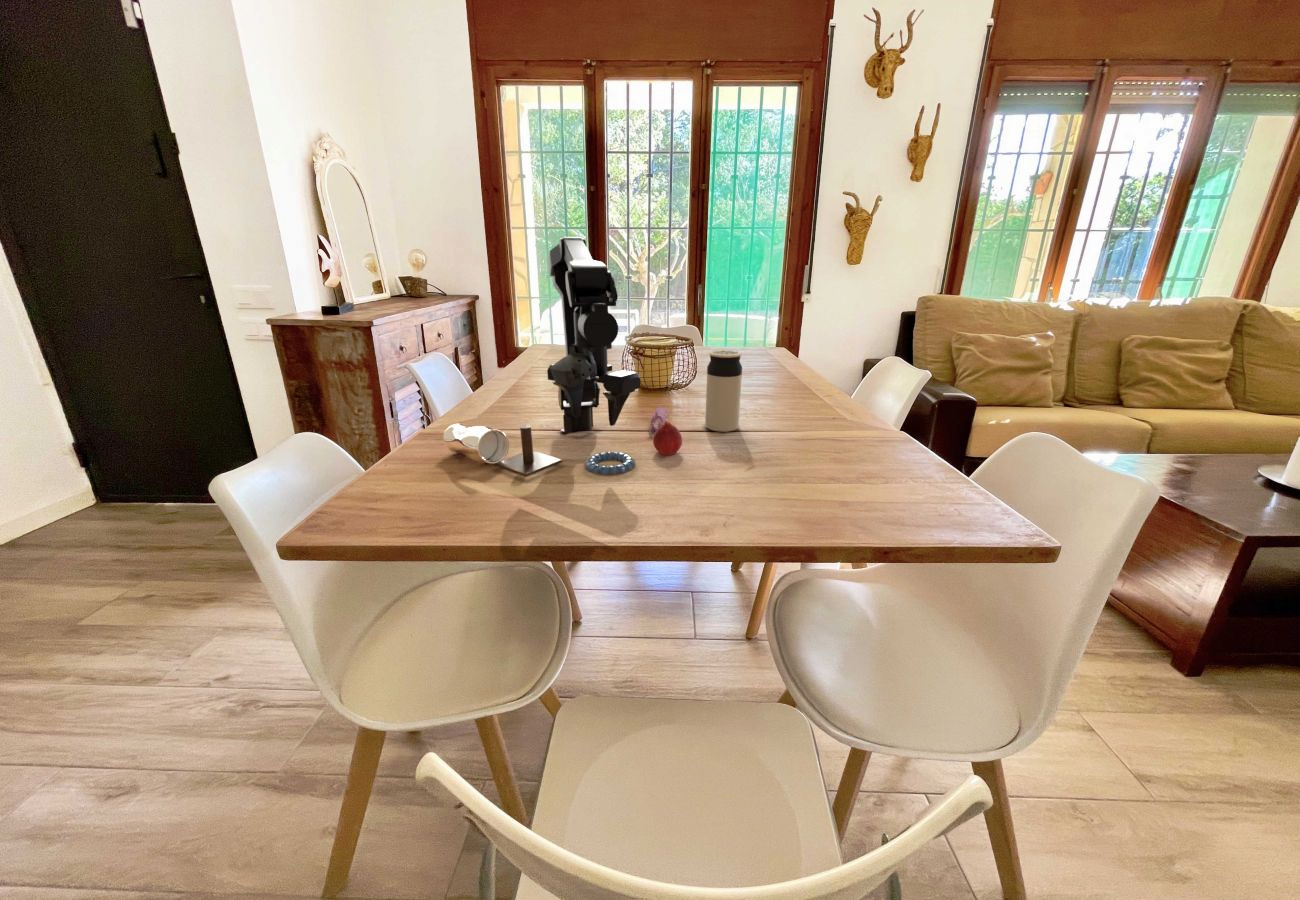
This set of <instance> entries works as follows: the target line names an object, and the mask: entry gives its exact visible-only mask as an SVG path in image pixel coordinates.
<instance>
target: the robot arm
mask: <svg viewBox="0 0 1300 900" xmlns="http://www.w3.org/2000/svg"><path fill="white" fill-rule="evenodd" d="M591 255H592V254H591V253H590V250H589V249H588V247H587V243H586V239H585V238H583V237H581V236H563V237H562V238H559V241H558V244H556V245H555V246H554V247H553V248H551V249H550V250H549V253H548V273H549V276H550V277H552V285H553V287H554V289H555V290H556V291H557V293H558V294H559V296H560V297H561V309H562V310H561V311H562V320H563V332H564V334H563V335H564V347H565V356H563V357H562V358H561V359H558V361H557V362H555V363H552V364H549V367H547V371H546V372H547V373H546V374H547V380H548V381H552V384H553V385H554V386H556V387H558V393H557V398H558V399H557V401H558V406H559V408H560V411H563V415H562V417H563V419H562V420H563V428H561V429H560V433H563V434H564V435H565V434H566V435H568V434H573V433H577V432H585V431H590V430H591V429H592V427H594V411H593V409H594V408H598V406H600V393H601V387H600V386H599V384H603V385H602V386H603V388H604V390H605V391H603V392H602V394H603V396H604V397H605V398H606V399H607V413H608V421H609V426H611V427H613V426H615V425H616V423H617V421H618V419H619V416H620V414H621V412H622V410H623V407H624V405H625V403H626V402H627V400H628V399H629V396H630V394H631V393H634V392H636V390H638V389H641V385H642V384H641V383H642V381H641V379H642V378H641V376H640V375H639V373H638V372H635V371H630V370H625V369H623V370H619V371H618V370H617V371H614V372H612V371H613V364H608V363H609V362H608V350H612V348H613V347H612V345H613V342H614V341H615V340H616V339H617V338H618V334H619V325H618V321H617V319H616V318H615V316H613V314H611V313H610V312H609V311H608V310H609V309H608V307H616V306H617V301H618V297H619V296H618V290H617V287H616V284H615V283H616V282H615V279H614V277H613V275H612V272H611V271H610V270H609V269H608V267H607V265H606V264H605V263H604V262H603V261H601V260H600V261H599V260H594V259H593V257H592V256H591ZM608 372H609V373H608Z"/></svg>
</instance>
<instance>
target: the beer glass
mask: <svg viewBox="0 0 1300 900" xmlns="http://www.w3.org/2000/svg"><path fill="white" fill-rule="evenodd" d="M442 435H443V436H442V442H443V445H444V447H445V448H446V449H447V450H448V451H449V452H450V453H451V452H452V453H454V454H455V453H456V454H457V453H458V454H459V453H461V454H463V455H464V456H465V457H467V458H468V459H470V460H472V461H476V462H479V463H484V464H490V465H495V463H498V462H500V461H502V460H505V458H506V457H507V455H508V453H509V450H510V442H509V438H508V437H507V435H506V434H505V433H504V432H503V431H501V430H499V429H496V428H493V427H489V426H484V425H473V426H466V425H464V424H463V423H454V424H451V425H450V426H448V427H447V428H446V429H445V431H444V433H443V434H442Z"/></svg>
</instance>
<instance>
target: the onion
mask: <svg viewBox="0 0 1300 900" xmlns="http://www.w3.org/2000/svg"><path fill="white" fill-rule="evenodd" d="M654 432H655V433H653V438H652V444H653V447H654V448H655V450H656V451H657V452H658V453H659V454H660V455H662V456H672V455H675V454H677V452H679V450H680V449H681V447H682V445H683V437H682V434H681V432H680V429H678V427H677V426H675V425H674V424H672V423H671V421H670V420H669V419H666V421H665V423H664V425H662V426H661V427H660V428H659V429H658V430H657V431H654Z"/></svg>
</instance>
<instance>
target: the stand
mask: <svg viewBox="0 0 1300 900" xmlns="http://www.w3.org/2000/svg"><path fill="white" fill-rule="evenodd" d="M519 429H520V431H519V432H520V439H521V441H520V443H521V451H522V453H518V454H516V455H514V456H511V457H508V458H506V459H505V458H504V459H503V460H502V461H500V462H498V463H495V464H494V466H496V467H498V468H501V469H504V470H507V471H509V472H513V473H515V474H517V475H521V476H524V477H529V476H531V475H534V474H536V473H538V472H540V471H544V470H545V469H548V468H550V467H553V466H555V465H558V464H560V463H562V462H563V459H560V458H558V457H555V456H552V455H549V454H545V453H542V452H539V451H535V450H534V445H533V435H532V434H533V433H532V426H531V425H528V424H526V425H521V426H520V427H519Z"/></svg>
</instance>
